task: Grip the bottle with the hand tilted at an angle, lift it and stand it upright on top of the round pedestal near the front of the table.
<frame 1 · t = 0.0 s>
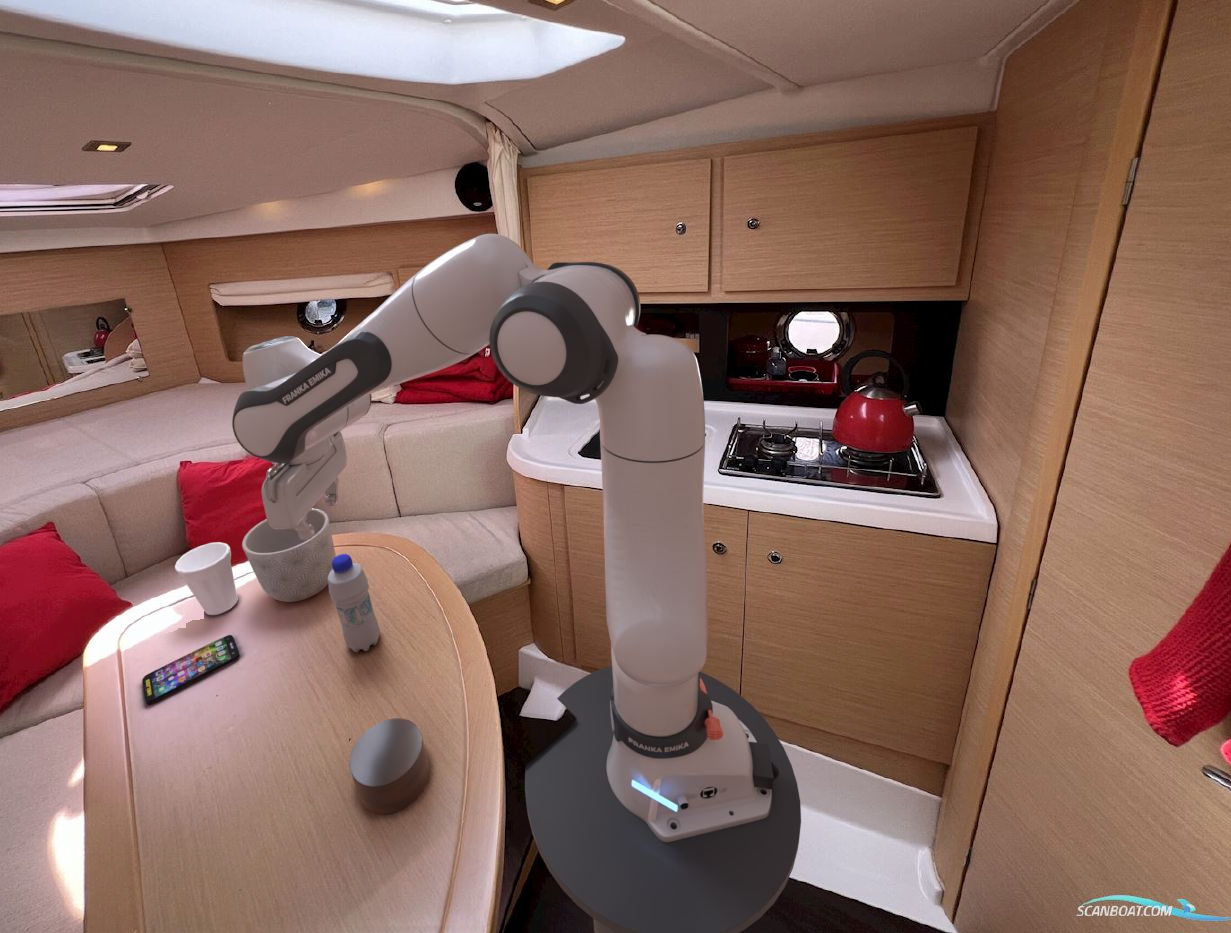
hand: (321, 519, 87), 31 cm above the table, tool pointing down, fingers open, 8 cm apart
smartphone: (193, 670, 101), on the table
pedestal: (394, 778, 78), on the table
cup: (222, 606, 117), on the table
planter: (304, 587, 120), on the table
bottle: (365, 643, 103), on the table
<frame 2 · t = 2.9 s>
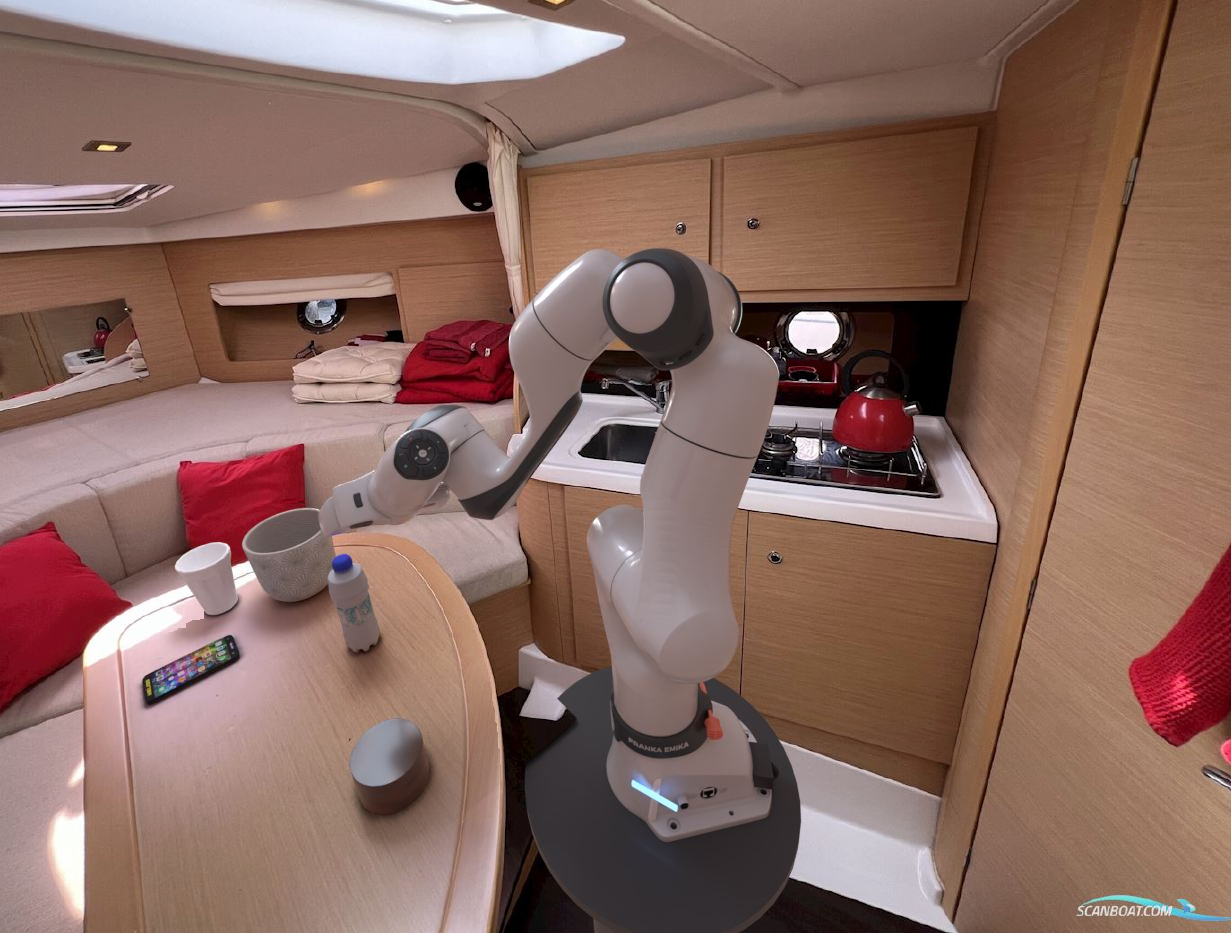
hand: (378, 520, 93), 27 cm above the table, tool tilted 50°, fingers open, 8 cm apart
nothing on the table moved.
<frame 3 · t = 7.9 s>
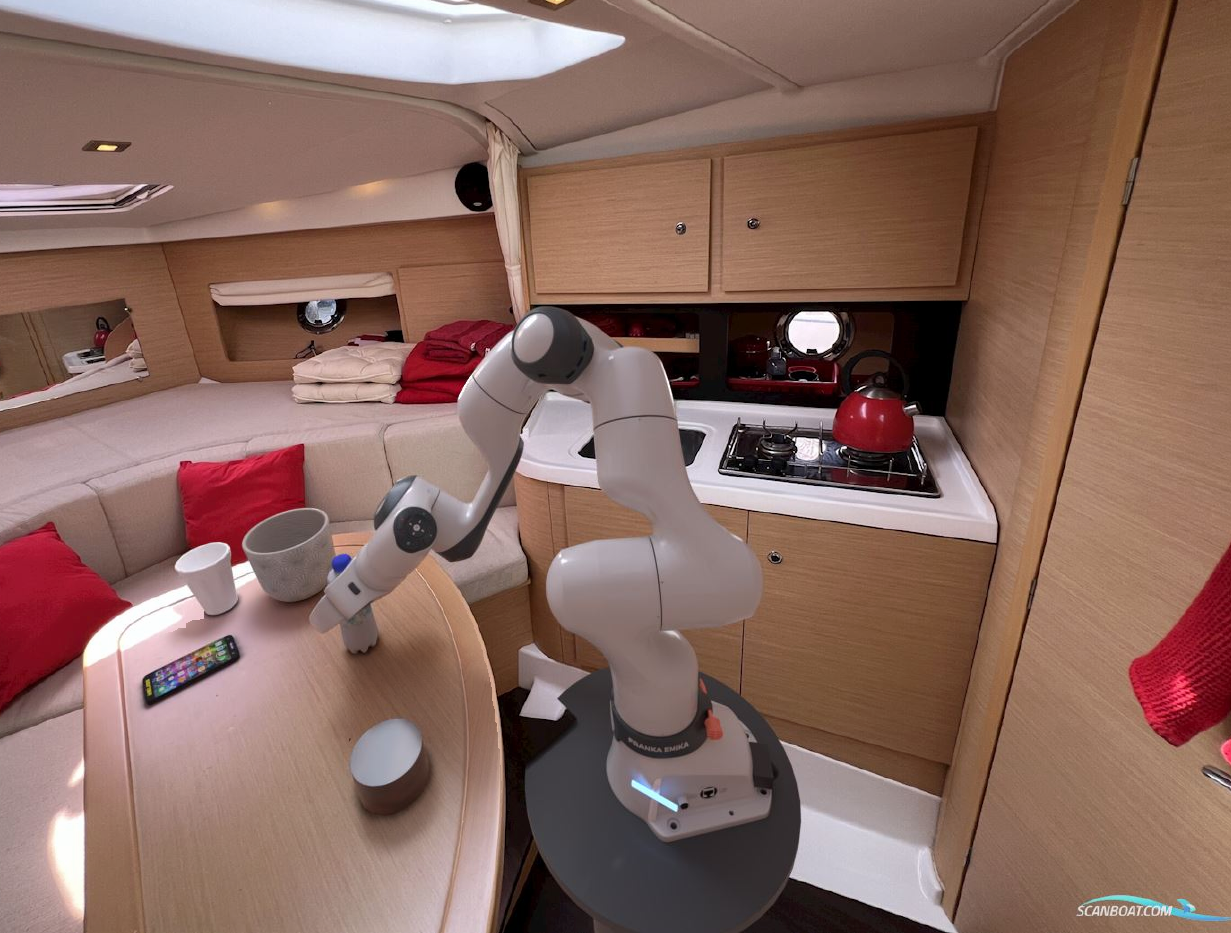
hand: (349, 599, 100), 10 cm above the table, tool tilted 45°, fingers closed on bottle, 6 cm apart
bottle: (363, 644, 103), on the table, touching gripper
everything else where it was.
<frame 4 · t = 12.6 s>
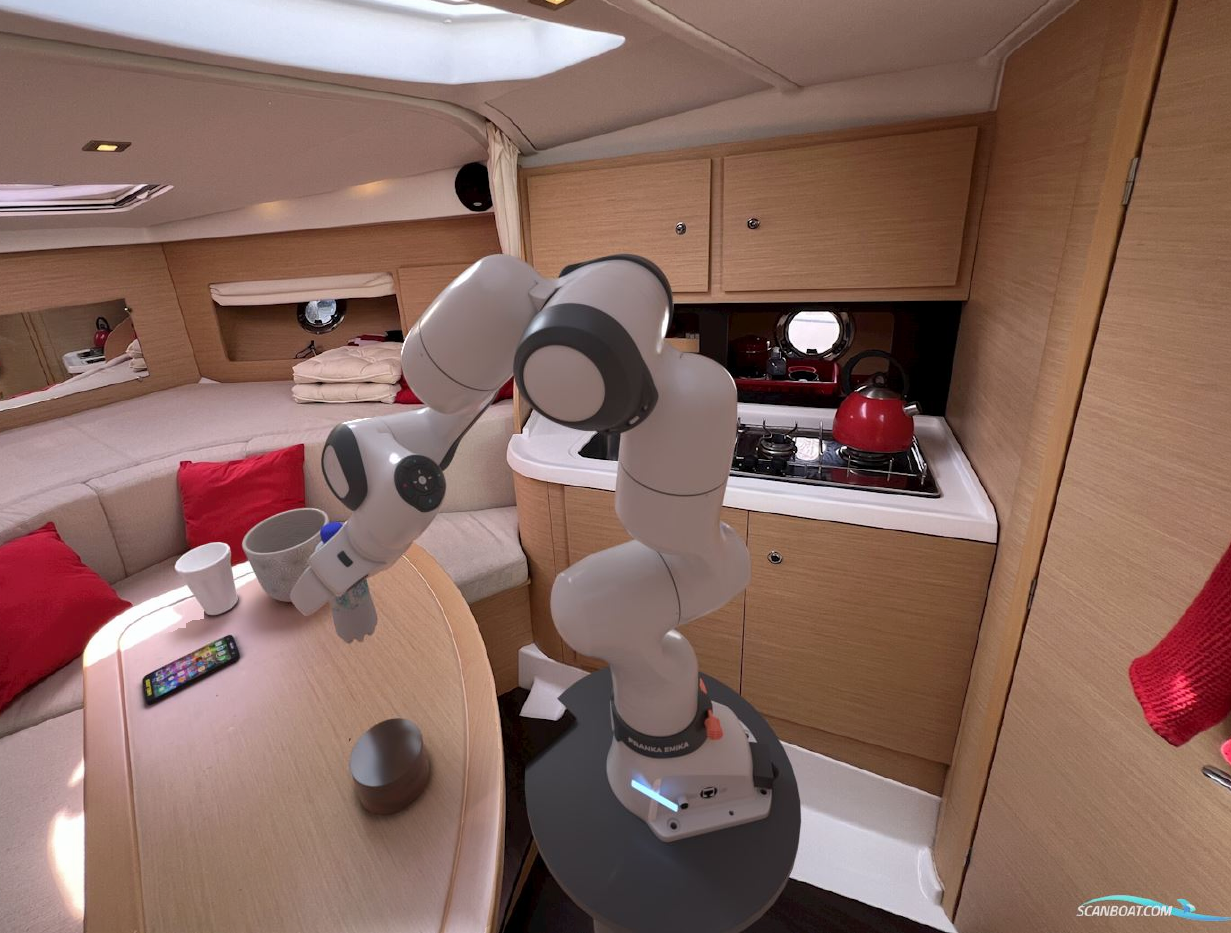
hand: (342, 577, 83), 25 cm above the table, tool tilted 45°, fingers closed on bottle, 6 cm apart
bottle: (359, 633, 86), point 14 cm above the table, touching gripper
everything else where it was.
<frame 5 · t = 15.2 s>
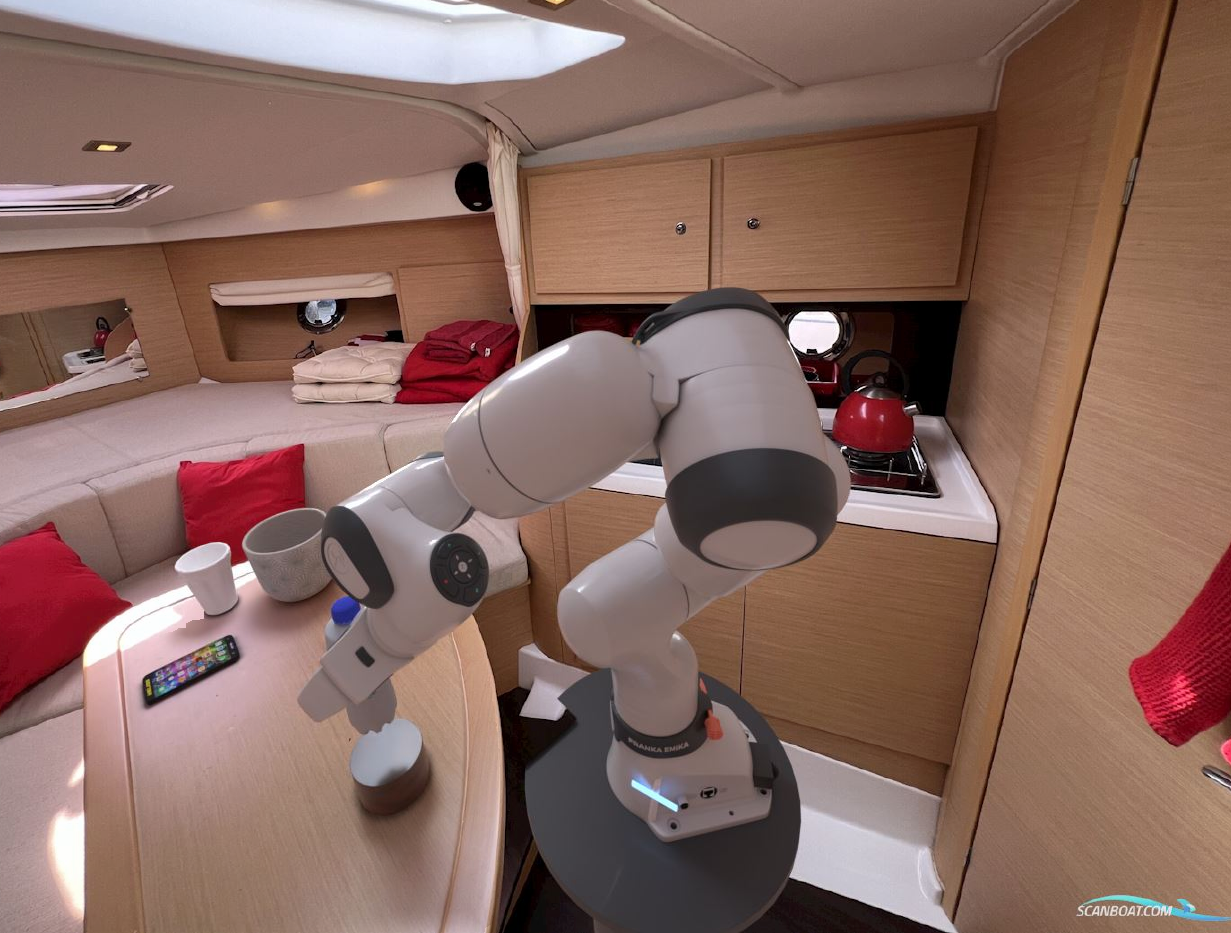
hand: (357, 658, 70), 23 cm above the table, tool tilted 45°, fingers closed on bottle, 6 cm apart
bottle: (376, 719, 74), point 12 cm above the table, touching gripper
everything else where it was.
when the fingers open (16 cm above the table, at t = 17.6 s): bottle stays where it is, resting on pedestal.
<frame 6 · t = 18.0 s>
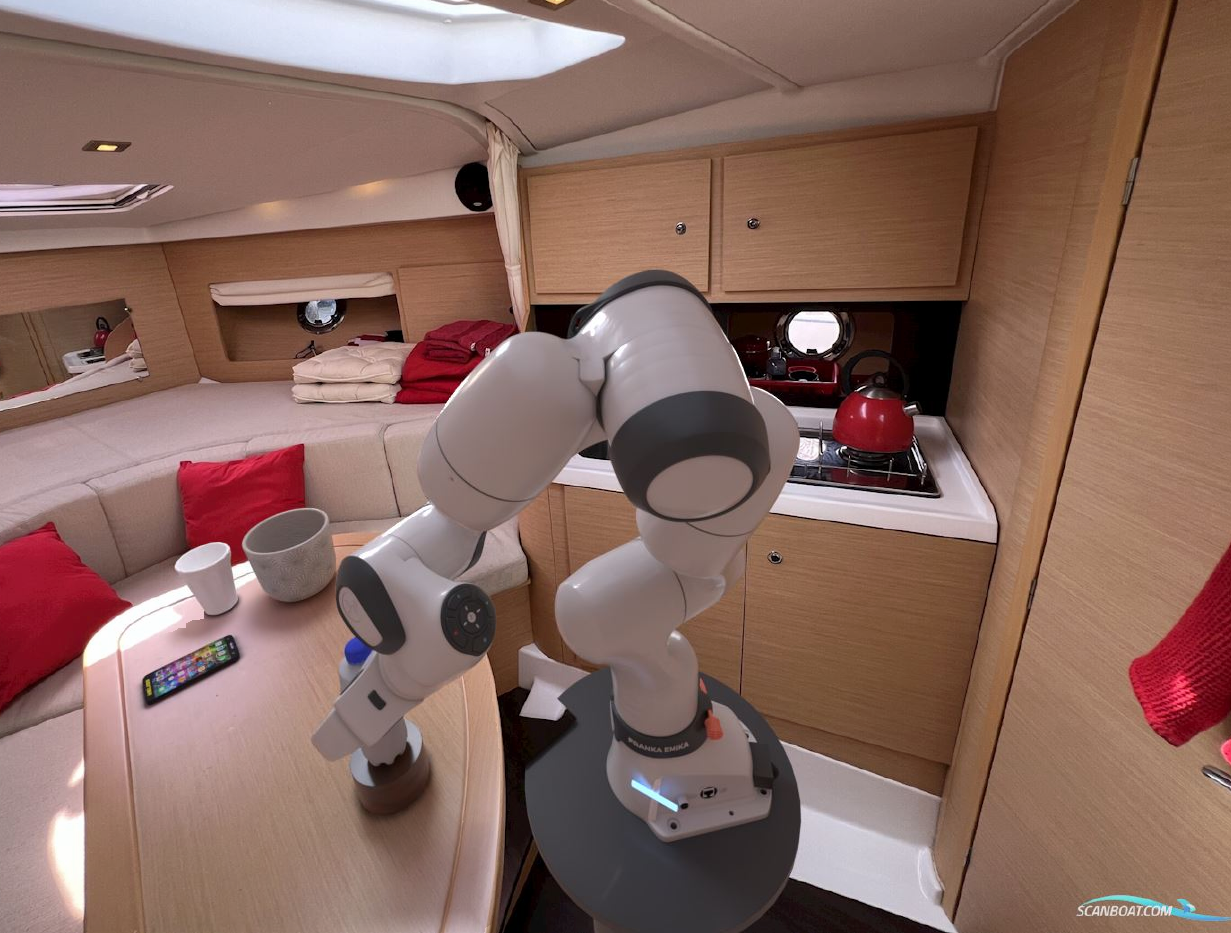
hand: (367, 694, 73), 17 cm above the table, tool tilted 45°, fingers open, 8 cm apart
bottle: (388, 750, 76), point 6 cm above the table, touching pedestal
everything else where it was.
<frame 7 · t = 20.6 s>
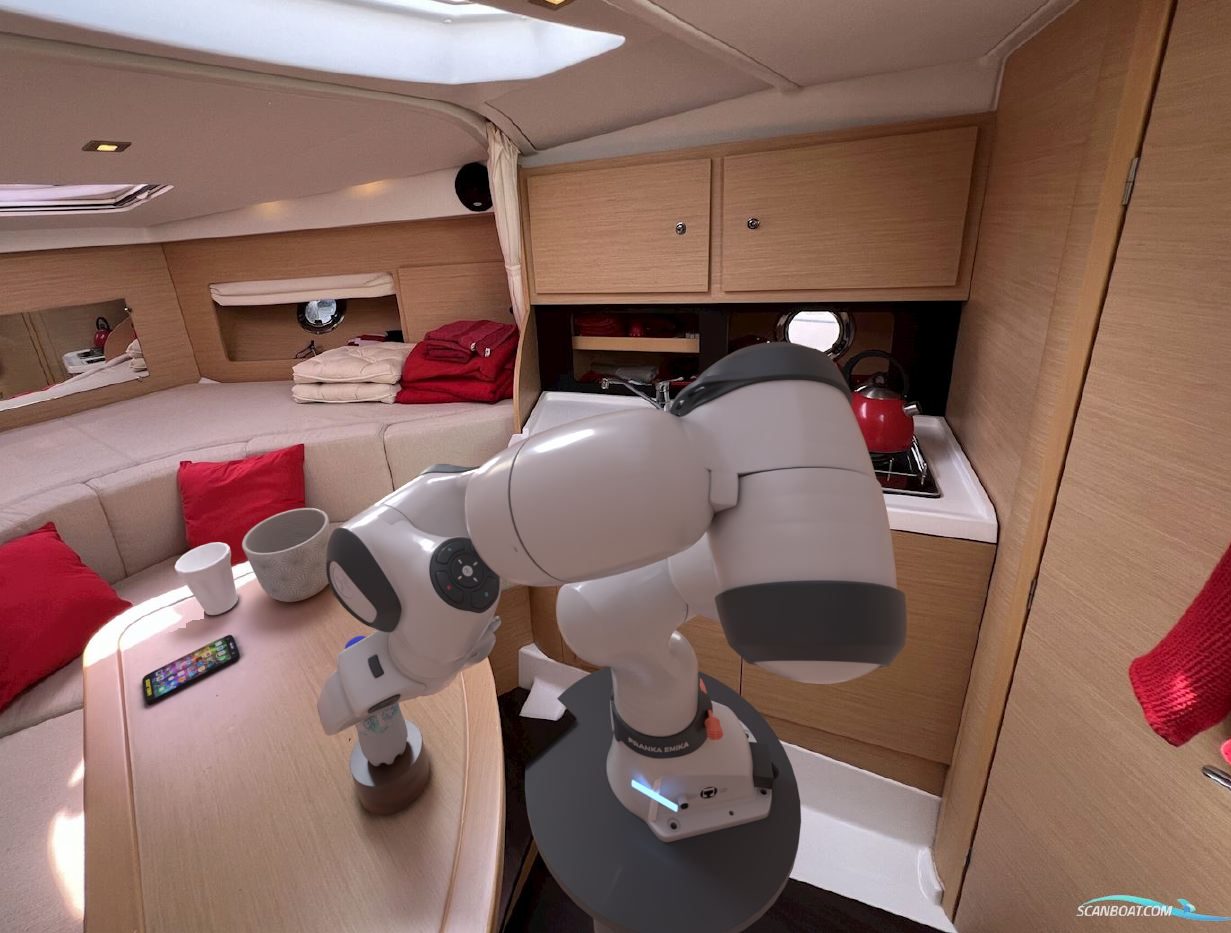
hand: (400, 696, 67), 21 cm above the table, tool tilted 30°, fingers open, 8 cm apart
nothing on the table moved.
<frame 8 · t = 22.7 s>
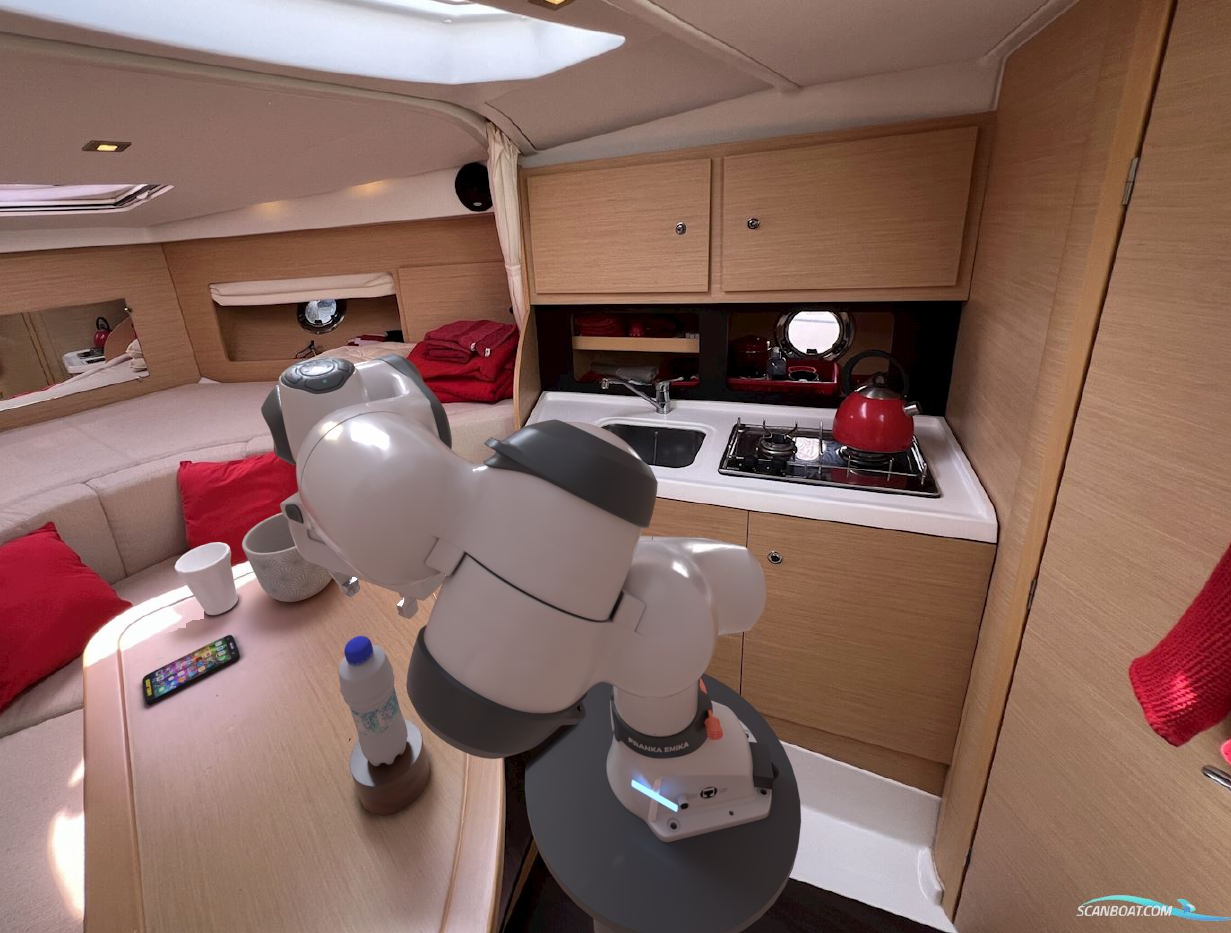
hand: (379, 602, 65), 33 cm above the table, tool pointing down, fingers open, 8 cm apart
nothing on the table moved.
at the end: bottle 0.2 cm off-centre on the pedestal, point 5.8 cm above the pedestal's base; bottle tilted 0°; the gripper is holding nothing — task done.
